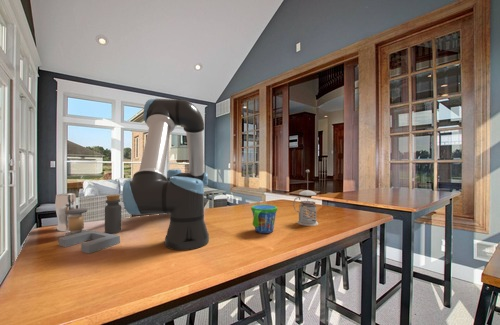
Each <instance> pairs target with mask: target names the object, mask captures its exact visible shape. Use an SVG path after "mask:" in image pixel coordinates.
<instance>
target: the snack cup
mask: <svg viewBox="0 0 500 325" xmlns="http://www.w3.org/2000/svg"><path fill="white" fill-rule="evenodd" d="M250 209H251V212H252V216H253V219H252V226H253V227H254V229H255V232H256V233H259V234H270V233H272V232H273V231H274V228H275V223H276V214H277V211H278V206H276V205H272V204H255V205H252V206H251V207H250Z"/></svg>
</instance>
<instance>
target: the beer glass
mask: <svg viewBox="0 0 500 325" xmlns="http://www.w3.org/2000/svg"><path fill="white" fill-rule="evenodd" d="M54 203H55V204H54V205H55V206H54V207H55V208H54V209H55V212H56V213H55V214H56V217H57V227H56V231H57V232H68V231H69V228H68V217H70V215H67V214H65V211H66V210H69V209H76V208H77V196H76V193H74V192H72V193H71V192H69V193H58V194H55V201H54ZM69 232H70V231H69Z"/></svg>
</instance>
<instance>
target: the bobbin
mask: <svg viewBox="0 0 500 325" xmlns="http://www.w3.org/2000/svg"><path fill="white" fill-rule="evenodd" d="M87 212H88V208H86V207H76V209H69V210H66V211H65V214H67V215H70V217H68V228H69V232H68V231H67V232H66V233H65V234H64V237H65V236H69V235H73V234H77V233H81V232H85V231H87V230H86V229H84V228H85V227H84V226H85V224H84V222H85V221H84V220H85V219H84V218H85V217H84V216H85V215H84V213H87Z"/></svg>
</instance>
